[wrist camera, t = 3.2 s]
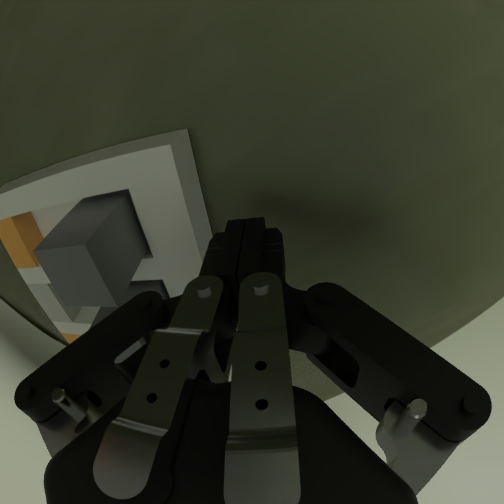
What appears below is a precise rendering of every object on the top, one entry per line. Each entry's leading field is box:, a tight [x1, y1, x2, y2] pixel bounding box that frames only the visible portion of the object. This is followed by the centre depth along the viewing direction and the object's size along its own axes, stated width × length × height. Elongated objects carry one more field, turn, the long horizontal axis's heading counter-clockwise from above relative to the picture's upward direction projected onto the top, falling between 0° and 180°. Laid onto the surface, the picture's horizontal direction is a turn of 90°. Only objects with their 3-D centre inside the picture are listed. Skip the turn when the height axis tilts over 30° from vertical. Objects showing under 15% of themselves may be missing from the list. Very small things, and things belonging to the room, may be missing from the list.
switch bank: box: [0, 129, 238, 381], centre depth 21 cm, size 16×20×3 cm
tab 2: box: [89, 279, 170, 364], centre depth 18 cm, size 4×4×6 cm
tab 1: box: [33, 189, 149, 307], centre depth 15 cm, size 4×4×6 cm
